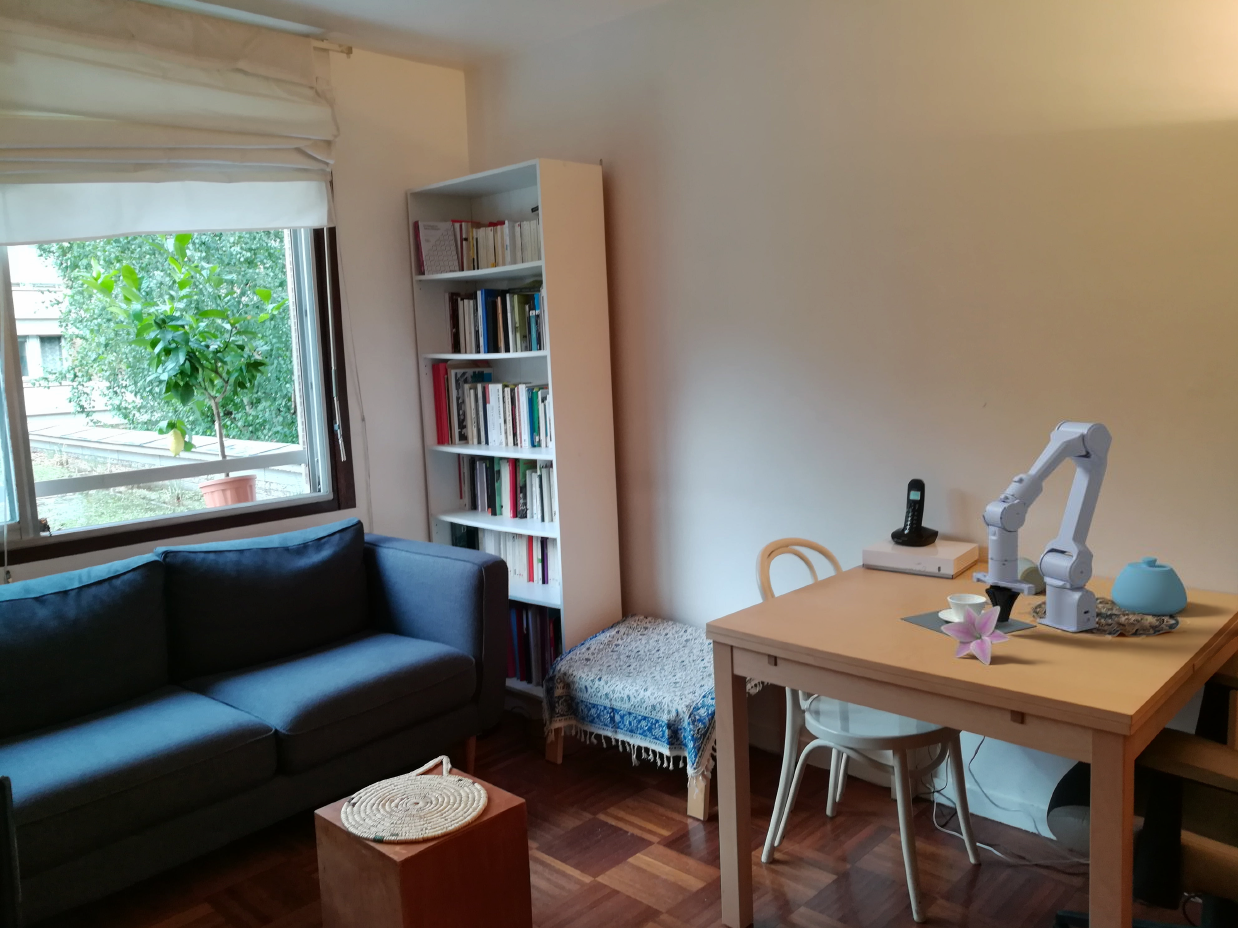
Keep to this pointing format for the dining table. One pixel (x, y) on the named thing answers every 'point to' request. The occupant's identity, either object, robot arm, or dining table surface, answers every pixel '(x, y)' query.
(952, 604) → the teacup
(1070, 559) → the robot arm
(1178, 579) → the sugar bowl
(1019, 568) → the ceramic mug
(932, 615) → the label mat
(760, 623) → the dining table surface
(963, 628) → the lily
